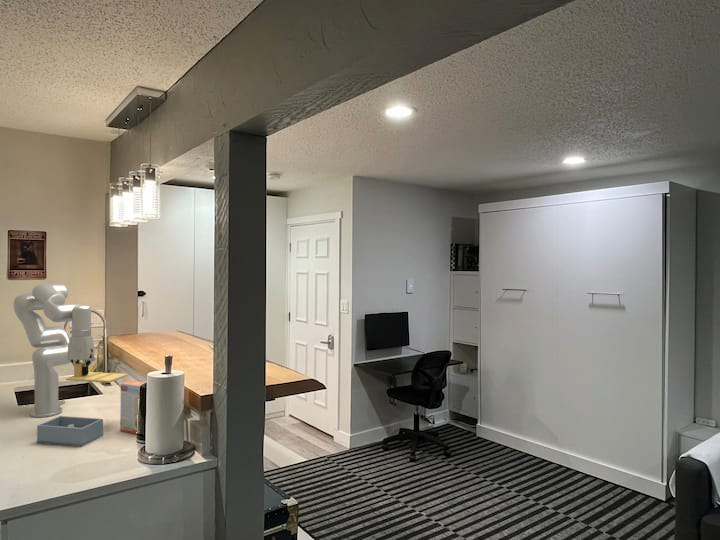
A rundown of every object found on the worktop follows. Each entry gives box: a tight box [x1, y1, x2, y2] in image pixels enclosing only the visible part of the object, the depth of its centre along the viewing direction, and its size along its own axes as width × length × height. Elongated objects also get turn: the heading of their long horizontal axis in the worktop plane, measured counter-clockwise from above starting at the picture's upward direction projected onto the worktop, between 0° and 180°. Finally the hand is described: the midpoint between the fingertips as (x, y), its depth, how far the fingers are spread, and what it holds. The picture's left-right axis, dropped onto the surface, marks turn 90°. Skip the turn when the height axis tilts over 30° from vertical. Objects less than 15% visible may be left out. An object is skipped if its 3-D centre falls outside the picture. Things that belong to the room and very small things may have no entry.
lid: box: [65, 361, 129, 384], centre depth 212 cm, size 21×13×6 cm, turn 82°
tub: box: [36, 415, 104, 447], centre depth 197 cm, size 20×12×7 cm, turn 82°
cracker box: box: [119, 380, 145, 435], centre depth 206 cm, size 14×6×21 cm, turn 65°
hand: (81, 374), depth 213 cm, fingers closed on lid, 3 cm apart
